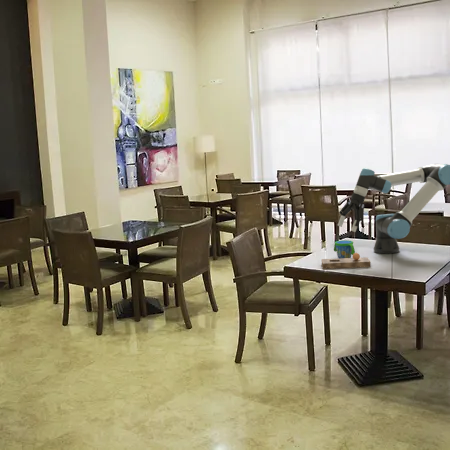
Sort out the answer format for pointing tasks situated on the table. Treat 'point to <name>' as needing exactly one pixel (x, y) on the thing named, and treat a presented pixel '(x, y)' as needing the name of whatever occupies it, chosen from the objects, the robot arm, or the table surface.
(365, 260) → the light wood flat slab
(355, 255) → the ball
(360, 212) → the robot arm
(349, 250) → the snack cup
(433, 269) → the table surface
